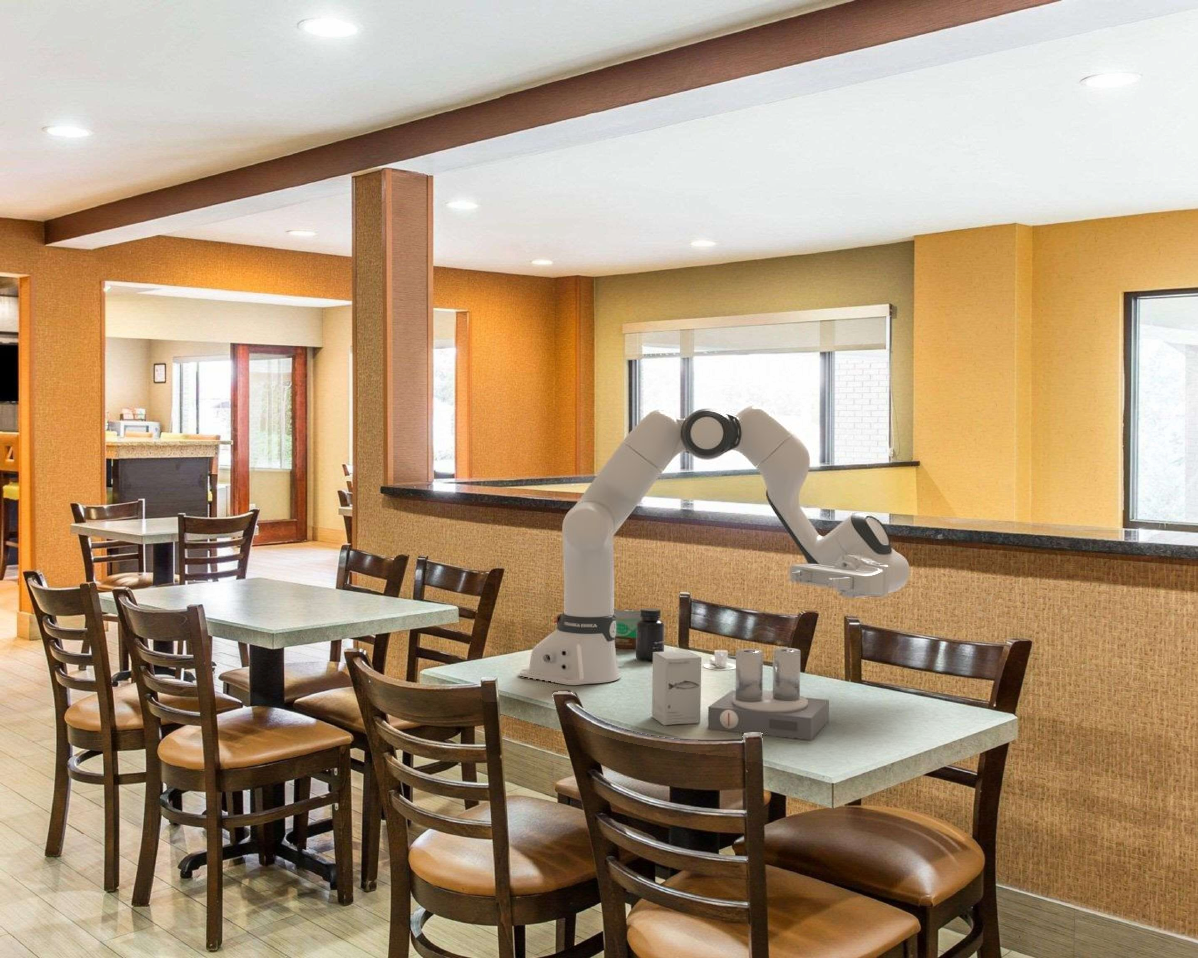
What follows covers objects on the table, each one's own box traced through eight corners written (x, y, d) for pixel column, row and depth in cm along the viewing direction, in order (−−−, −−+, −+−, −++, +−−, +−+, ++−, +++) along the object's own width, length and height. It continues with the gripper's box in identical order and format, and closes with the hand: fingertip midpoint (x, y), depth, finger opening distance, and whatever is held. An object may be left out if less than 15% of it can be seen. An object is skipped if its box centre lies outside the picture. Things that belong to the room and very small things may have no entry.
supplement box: (664, 726, 209) (664, 658, 209) (651, 716, 216) (651, 650, 216) (701, 723, 211) (702, 656, 211) (687, 714, 219) (688, 649, 218)
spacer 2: (769, 699, 211) (770, 651, 210) (776, 693, 215) (777, 646, 215) (796, 702, 209) (796, 653, 208) (802, 696, 213) (803, 648, 213)
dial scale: (707, 728, 208) (707, 702, 207) (731, 710, 222) (732, 686, 221) (810, 740, 200) (810, 713, 200) (828, 720, 214) (829, 695, 214)
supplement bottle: (661, 662, 268) (662, 612, 267) (633, 661, 269) (633, 610, 269) (666, 657, 274) (666, 607, 274) (638, 655, 276) (638, 606, 275)
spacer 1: (732, 700, 209) (732, 652, 209) (739, 695, 214) (740, 647, 214) (758, 703, 207) (759, 654, 207) (765, 697, 212) (766, 649, 212)
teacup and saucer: (709, 663, 270) (709, 646, 269) (742, 665, 267) (742, 648, 266) (699, 670, 261) (699, 652, 261) (732, 673, 259) (732, 655, 258)
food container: (599, 649, 284) (599, 609, 284) (607, 644, 290) (607, 605, 289) (646, 652, 280) (647, 612, 280) (653, 648, 286) (654, 608, 285)
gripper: (814, 555, 242) (772, 558, 233) (896, 566, 227) (854, 570, 218) (812, 585, 243) (770, 589, 233) (894, 597, 227) (852, 602, 218)
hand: (811, 580), depth 225 cm, fingers open, 8 cm apart
